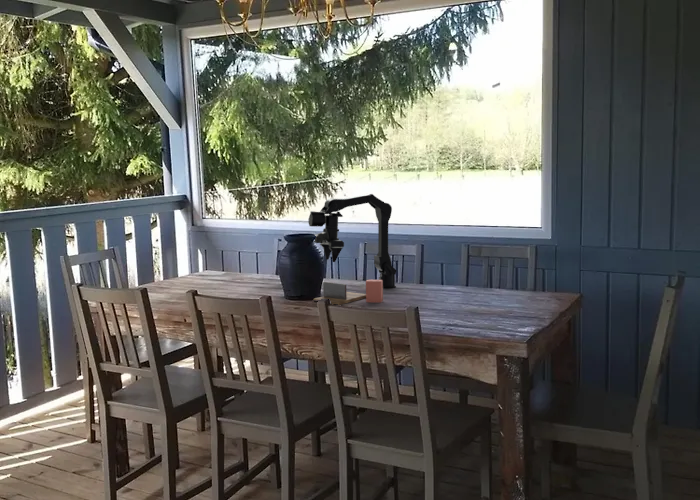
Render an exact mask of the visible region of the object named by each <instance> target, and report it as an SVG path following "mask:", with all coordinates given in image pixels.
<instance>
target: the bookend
mask: <svg viewBox="0 0 700 500" xmlns="http://www.w3.org/2000/svg"><path fill="white" fill-rule="evenodd" d="M322 288H323V289H322V290H323V291H322V292H323V294H322V295H323V296H324V297H328V298H335V299H343V300H346V299H347V293H346V292H347V284H346V283H337V282H330V281H323V282H322Z"/></svg>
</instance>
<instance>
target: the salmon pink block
mask: <svg viewBox="0 0 700 500" xmlns="http://www.w3.org/2000/svg"><path fill="white" fill-rule="evenodd" d="M365 294H366V298H365V302H366V303H378V304H379V303H383V301H384V288H383V280H379V279H366V280H365Z"/></svg>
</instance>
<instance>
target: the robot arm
mask: <svg viewBox="0 0 700 500" xmlns="http://www.w3.org/2000/svg"><path fill="white" fill-rule="evenodd" d="M364 204H369V205H370V207H372V208H373V210H375V211H374V212H375V217H376V219H377V223H378V224H377V225H378V229H377V230H378V232H377V233H378V239H377V240H378V241H377V242H378V243H377V244H378V247H377V248H378V251H377V254H376V255H374V256H373V260H374V262H373V264H374V267H375V268H376V269H377V271H378V273H379V277H378V280H383V289H387V288H388V289H389V288H396V287H397V285H395V283H396V280H395V278H396V277H395V276H396V274H397V269H395V267H393V265H392V260H391V259H392V258H391V255H390V253H389V221H390V218H391V216H392V212H393V211H392V210H393V208H392V205H391V204H390V203H388V202H384V201H383V200H381V199H380V198H378V197H377V196H375V195H374V194H373V193H366V194H362V195H357V196H352V197H346V198H328V199H326V201H325V202H324V205H323V206H322V208H321V210H319V211H312V210H311V211H310V213H309V216H308V226H309V227H316V228H317V227H319V228H320V227H323V226H325V227H324V228H323V229H322V232H321V231H320V232H319V233H315V234H314V235H315V236H316V238H315V241H314V240H313V242H314V243H316V244H319V246H321V247H322V248H323V252H324V256H325V260H327V261H328V260H329V259H330V256H331V260H332V261H331V262H332V263H336V261H337V260H338V257H339V255H340V253H341V251H342V250H343V249H344V247H345V242H344V241H343V240H341V239H340V238H339V237H338V236H339V235H338V234H339V232H340V229H339V218H343V217H344V216H343V214H342V213H341V211H342V210H343V209H346V208H349V207H353V206H354V207H355V206H358V205H364Z"/></svg>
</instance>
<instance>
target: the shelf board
mask: <svg viewBox="0 0 700 500" xmlns="http://www.w3.org/2000/svg"><path fill="white" fill-rule="evenodd" d="M346 293H347V299H346V300H343V299H335V298H328V297H324V296H320V297H315V298H312V299H313V300H321V299H330V301H331V303H332V304H331V305H334V304H338V305H337V306H340V305H344V304H349V303H352V302H355V301H359V300H362V299H366V293H359V292H358V293H357V292H350V291H346Z"/></svg>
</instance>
